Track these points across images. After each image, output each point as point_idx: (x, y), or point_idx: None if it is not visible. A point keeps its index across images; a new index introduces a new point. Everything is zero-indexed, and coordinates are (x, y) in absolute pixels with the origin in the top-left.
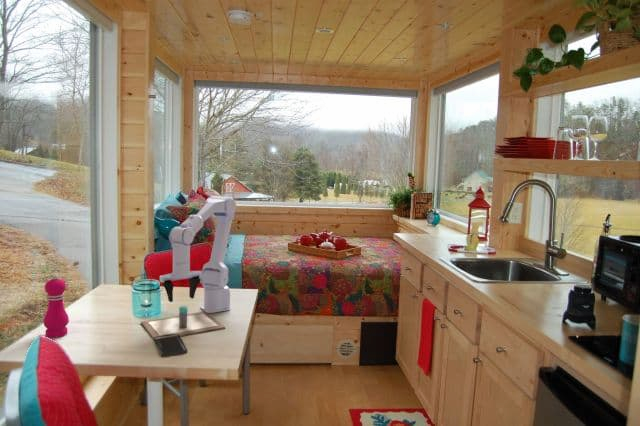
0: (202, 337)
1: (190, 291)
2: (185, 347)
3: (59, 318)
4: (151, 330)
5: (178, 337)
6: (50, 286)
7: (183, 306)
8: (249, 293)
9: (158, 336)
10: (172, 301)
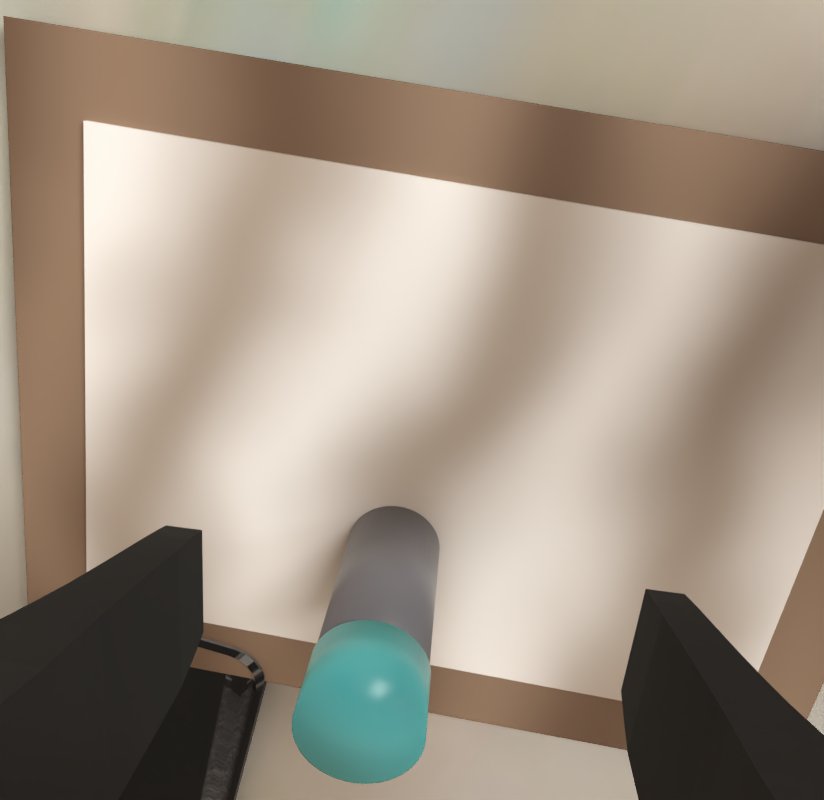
0: (450, 794)
1: (678, 713)
2: None
3: None
4: (53, 411)
5: (238, 719)
6: None
7: (378, 704)
8: None
9: None
10: (201, 635)
